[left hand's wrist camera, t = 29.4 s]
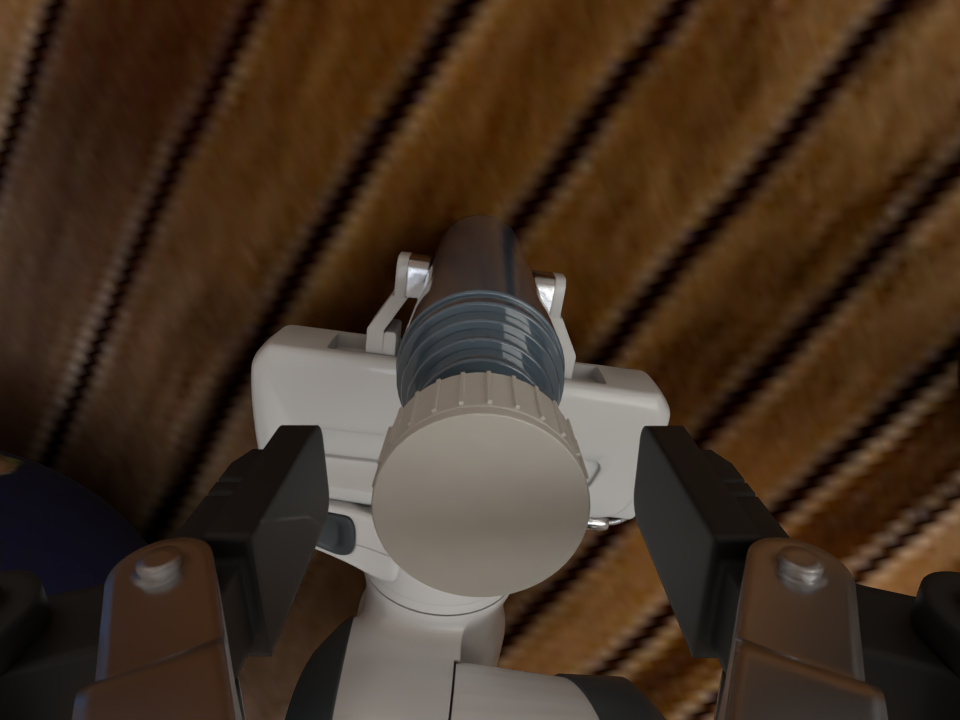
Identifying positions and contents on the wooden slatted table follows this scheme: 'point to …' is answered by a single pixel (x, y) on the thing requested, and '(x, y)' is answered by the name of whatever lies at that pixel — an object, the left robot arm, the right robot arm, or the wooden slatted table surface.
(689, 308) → the wooden slatted table surface
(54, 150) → the wooden slatted table surface
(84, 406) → the wooden slatted table surface
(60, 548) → the globe
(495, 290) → the bottle
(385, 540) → the cap
